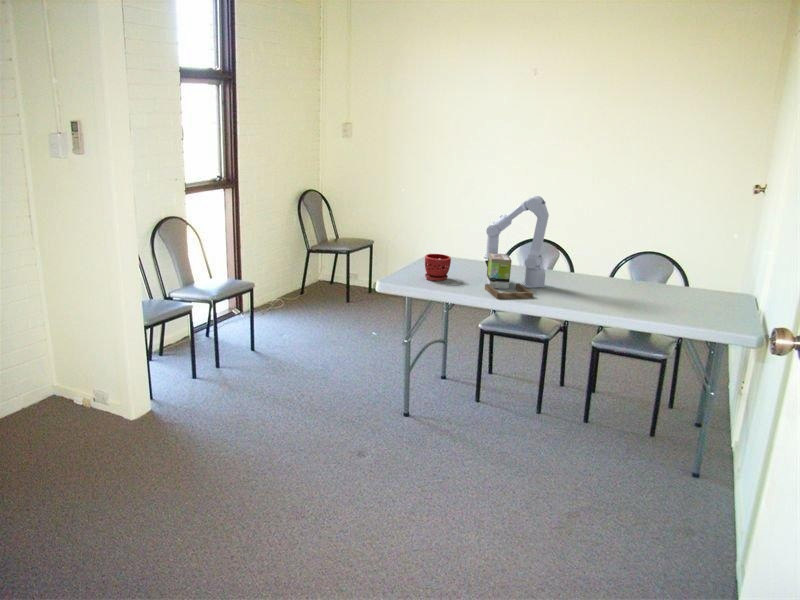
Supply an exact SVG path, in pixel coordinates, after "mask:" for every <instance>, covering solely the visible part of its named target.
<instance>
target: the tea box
mask: <svg viewBox="0 0 800 600" xmlns="http://www.w3.org/2000/svg"><path fill="white" fill-rule="evenodd" d="M487 260H488V266H487V265H486V277H485V278H486V280H485V281H486V284H489V285H490V286H492V287H493V288H494V289H499V290H500V289H501V290H502V289H504V290H505V289H506V290H508V289H509V288H510V278H511V269H512V262H513V261H512V259H511V257H510V255H509V254H508V253H507V254H506V253H498V254H495V253H489V256H488V259H487Z"/></svg>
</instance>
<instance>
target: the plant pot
mask: <svg viewBox="0 0 800 600" xmlns="http://www.w3.org/2000/svg"><path fill="white" fill-rule="evenodd" d="M451 262H452V258H451V256H449V255H446V254H442V253H428V254H426V255H425V256H424V268H425V272H426V273H425V274H424V277H425V278H426V279H427V280H430V281H433V280H434V281H435V282H438V281H439V282H441V281H442V282H443V281H445V280H447V279H448V273H449V272H450V268H451ZM434 281H433V282H434Z"/></svg>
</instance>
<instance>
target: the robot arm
mask: <svg viewBox="0 0 800 600" xmlns="http://www.w3.org/2000/svg"><path fill="white" fill-rule="evenodd" d="M527 211H530V212H531V213H532V214H534V215H535V217H536V223H535V227H534V232H533V237H532V242H531V245H530V246H531V247H530V250H529V252H528V255H527V257H526V258H525V260H524V265H525V272H524V282H521V283H520V284H521V285H522V286H524V287H525V288H527V289H530V288H531V289H532V288H535V289H536V288H545V287H546V286H545V282H546V270H545V268H542V267H541V265H542V263H543V256H542V255H543V251H542V249H543V244H544V239H545V235H546V230H547V225H548V220H549V217H550V215H549V211H548V208H547V205H546V201H545V199H544V198H543V197H541V196H539V195H535V196H533V197H529V198H528V199H527V200H525V201H523V202H522V203H520V204H519V205H518V206H516V208H515V209H513V210H512V211H511V212H510V213H508V214H504V215H500V216H499V218H498V219H497V220H496V221H493V222H492V224H490V225H488V227H487V228H486V230H485V231H486V235H487V239H486V241H487V242H486V254H485V256H483V258H484V259H485V261H484V263H485V264H486V267H487V266H488V256H489V253H495V254H499V241H500V240H499V239H500V234H501V233H502V232H503V231H504V230H505V229H507V228H508V227H509V226H511V225H512V222H513V220H514V219H515V218H517V217H518V216H519V215H521V214H522V213H523V212H527Z"/></svg>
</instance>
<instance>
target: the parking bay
mask: <svg viewBox="0 0 800 600" xmlns="http://www.w3.org/2000/svg"><path fill="white" fill-rule="evenodd" d="M484 290H485V291H486V292H488V293H489V294H490V295H491V296H493V297H494V298H495V299H496V300H499V299H500V300H506V299H507V300H508V299H509V298H512V299H533V298H534V292H533V291H532V290H530V289H529V288H527V287H525V286H524V285H522V284H521V283H520V282H519V283H515V290H517V292H516V291H514V292H513V291H512V292H511V291H510V292H509V291H507V292H499V291H498V290H497V288H493V287H492V286H490V285H489V284H488V283H486V284H484ZM518 290H519V291H518Z"/></svg>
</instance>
